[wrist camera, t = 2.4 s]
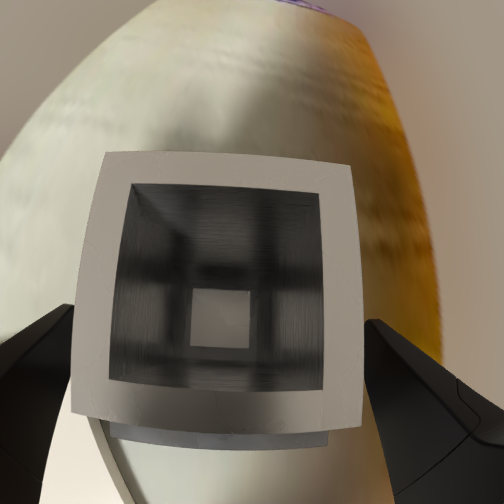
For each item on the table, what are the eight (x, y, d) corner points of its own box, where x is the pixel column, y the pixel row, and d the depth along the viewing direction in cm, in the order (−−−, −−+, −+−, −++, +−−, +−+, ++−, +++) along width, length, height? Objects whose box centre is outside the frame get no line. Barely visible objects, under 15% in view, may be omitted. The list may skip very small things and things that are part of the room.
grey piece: (319, 438, 16) (360, 473, 10) (118, 430, 15) (76, 462, 9) (319, 218, 20) (354, 169, 14) (134, 208, 19) (105, 155, 13)
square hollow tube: (270, 375, 15) (360, 425, 5) (167, 371, 15) (71, 412, 4) (272, 276, 17) (350, 165, 6) (173, 271, 16) (105, 152, 6)
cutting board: (165, 555, 12) (162, 566, 10) (21, 542, 9) (13, 548, 8) (77, 344, 16) (66, 344, 15) (-49, 368, 14) (-61, 368, 12)
